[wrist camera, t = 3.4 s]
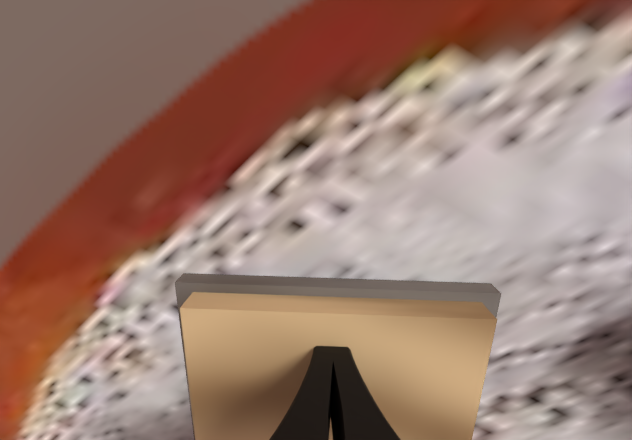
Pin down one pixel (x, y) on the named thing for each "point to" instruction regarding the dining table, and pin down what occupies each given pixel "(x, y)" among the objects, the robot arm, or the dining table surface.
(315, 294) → the floor board
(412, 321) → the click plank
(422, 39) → the dining table surface
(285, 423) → the robot arm
